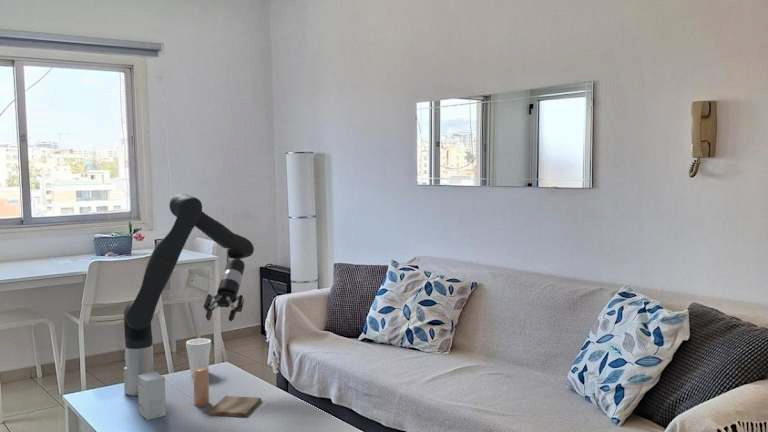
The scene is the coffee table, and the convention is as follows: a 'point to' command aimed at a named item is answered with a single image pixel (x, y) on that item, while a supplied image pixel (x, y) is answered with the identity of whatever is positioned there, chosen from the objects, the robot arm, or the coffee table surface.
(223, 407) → the board
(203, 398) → the canister
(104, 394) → the coffee table surface
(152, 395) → the small box
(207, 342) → the foam cup
